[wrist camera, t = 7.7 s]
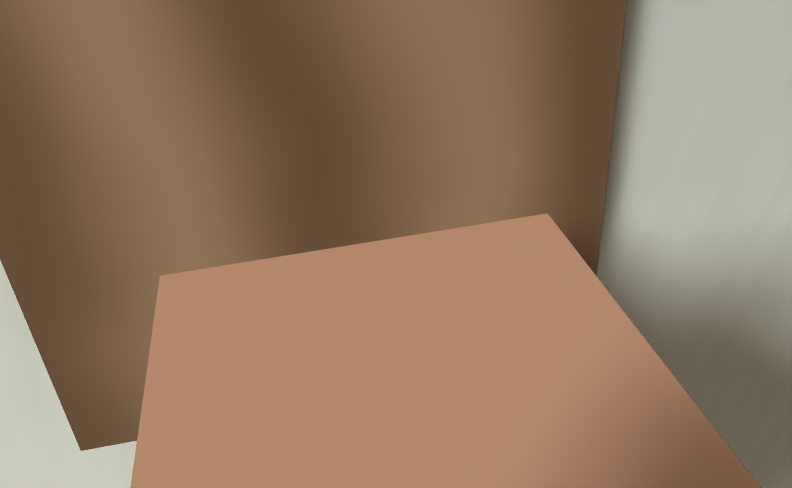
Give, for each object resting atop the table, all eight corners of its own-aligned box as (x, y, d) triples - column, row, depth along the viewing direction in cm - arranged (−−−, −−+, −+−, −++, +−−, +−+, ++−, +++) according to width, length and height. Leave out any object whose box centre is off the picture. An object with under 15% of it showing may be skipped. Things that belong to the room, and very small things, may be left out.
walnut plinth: (566, -219, 17) (651, -223, 13) (537, 279, 24) (587, 357, 21) (-87, -173, 15) (-179, -166, 11) (102, 352, 22) (80, 450, 19)
